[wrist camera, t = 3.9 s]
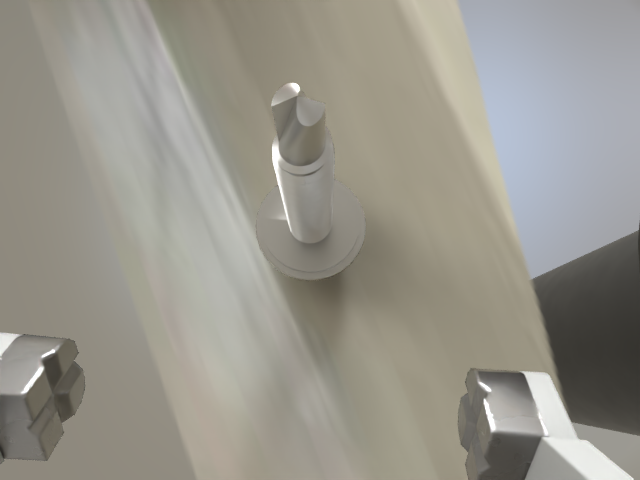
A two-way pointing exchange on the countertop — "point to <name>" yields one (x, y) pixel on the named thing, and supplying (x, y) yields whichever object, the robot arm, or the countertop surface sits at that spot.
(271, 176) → the countertop surface
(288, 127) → the screw
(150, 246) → the countertop surface
